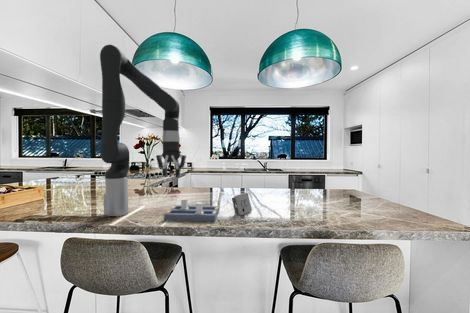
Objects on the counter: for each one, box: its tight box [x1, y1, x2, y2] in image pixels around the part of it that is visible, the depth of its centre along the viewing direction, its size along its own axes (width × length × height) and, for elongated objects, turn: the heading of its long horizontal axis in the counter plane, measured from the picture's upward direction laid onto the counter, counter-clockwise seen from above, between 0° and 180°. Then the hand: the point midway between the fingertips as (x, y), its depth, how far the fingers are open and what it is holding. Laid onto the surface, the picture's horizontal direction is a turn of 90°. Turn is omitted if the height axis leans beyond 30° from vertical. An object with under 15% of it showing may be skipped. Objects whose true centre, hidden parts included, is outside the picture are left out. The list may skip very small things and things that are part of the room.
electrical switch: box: [231, 192, 253, 216], centre depth 109 cm, size 9×5×9 cm, turn 141°
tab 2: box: [195, 201, 204, 214], centre depth 101 cm, size 3×3×6 cm
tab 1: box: [180, 197, 189, 209], centre depth 108 cm, size 3×3×6 cm
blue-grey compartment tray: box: [163, 204, 220, 222], centre depth 105 cm, size 22×14×3 cm, turn 86°
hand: (171, 176), depth 108 cm, fingers open, 5 cm apart
